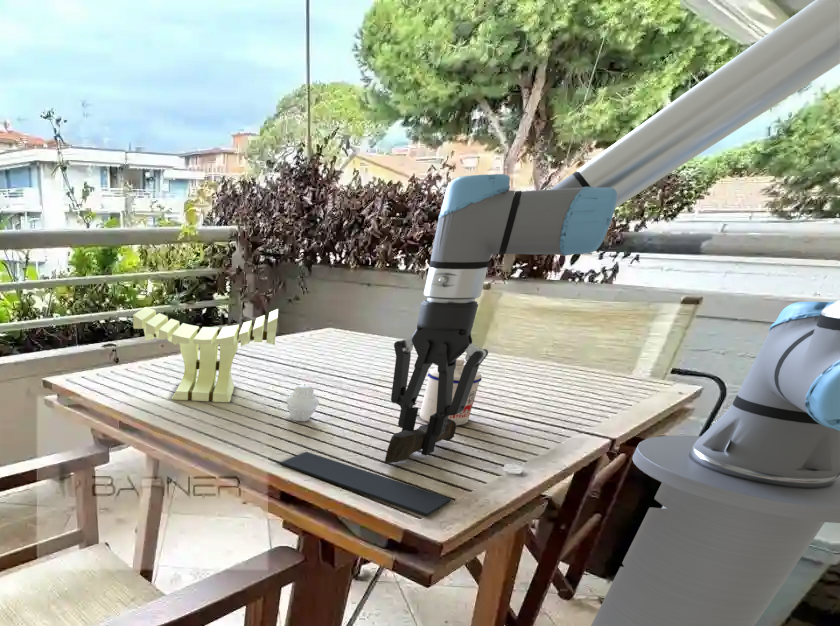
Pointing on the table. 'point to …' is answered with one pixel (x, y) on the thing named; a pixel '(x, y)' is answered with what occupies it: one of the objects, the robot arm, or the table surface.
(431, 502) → the edge strip
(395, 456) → the hand tool
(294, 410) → the white ribbed jar
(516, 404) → the table surface
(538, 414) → the table surface
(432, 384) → the teacup with lid
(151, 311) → the slatted curved stool
